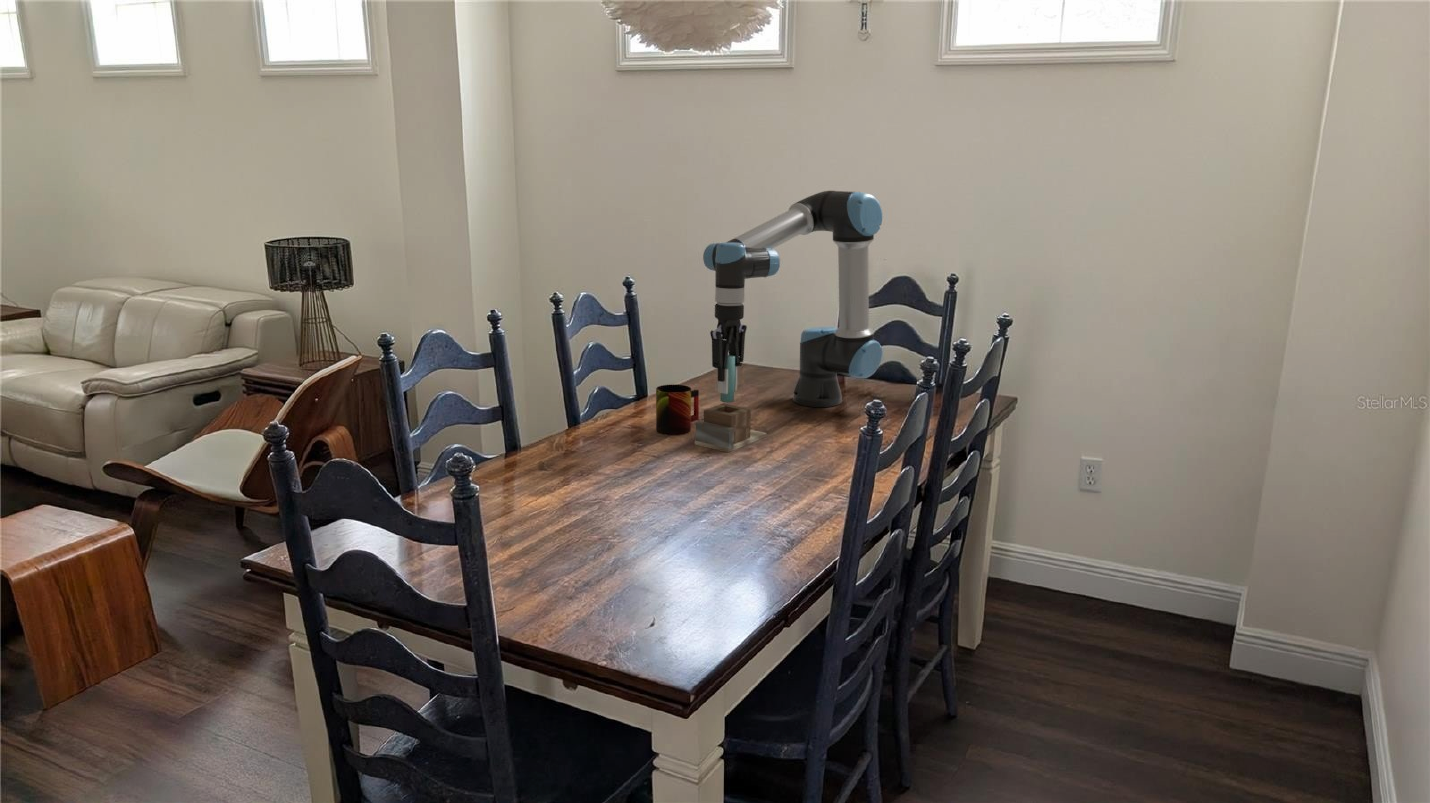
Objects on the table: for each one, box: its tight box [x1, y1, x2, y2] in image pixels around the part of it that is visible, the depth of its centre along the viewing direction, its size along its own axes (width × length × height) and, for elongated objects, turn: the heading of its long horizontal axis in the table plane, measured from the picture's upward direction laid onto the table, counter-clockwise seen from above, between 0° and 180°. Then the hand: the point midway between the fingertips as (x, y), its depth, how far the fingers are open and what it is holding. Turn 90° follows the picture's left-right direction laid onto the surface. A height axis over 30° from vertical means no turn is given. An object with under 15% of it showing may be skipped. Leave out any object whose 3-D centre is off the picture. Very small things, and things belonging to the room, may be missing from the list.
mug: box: [655, 384, 700, 436], centre depth 279 cm, size 10×14×12 cm
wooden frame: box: [694, 420, 767, 453], centre depth 269 cm, size 18×11×6 cm, turn 144°
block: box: [703, 402, 752, 444], centre depth 267 cm, size 9×9×8 cm
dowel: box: [719, 354, 735, 403], centre depth 264 cm, size 4×4×12 cm
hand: (727, 391), depth 264 cm, fingers closed on dowel, 3 cm apart
